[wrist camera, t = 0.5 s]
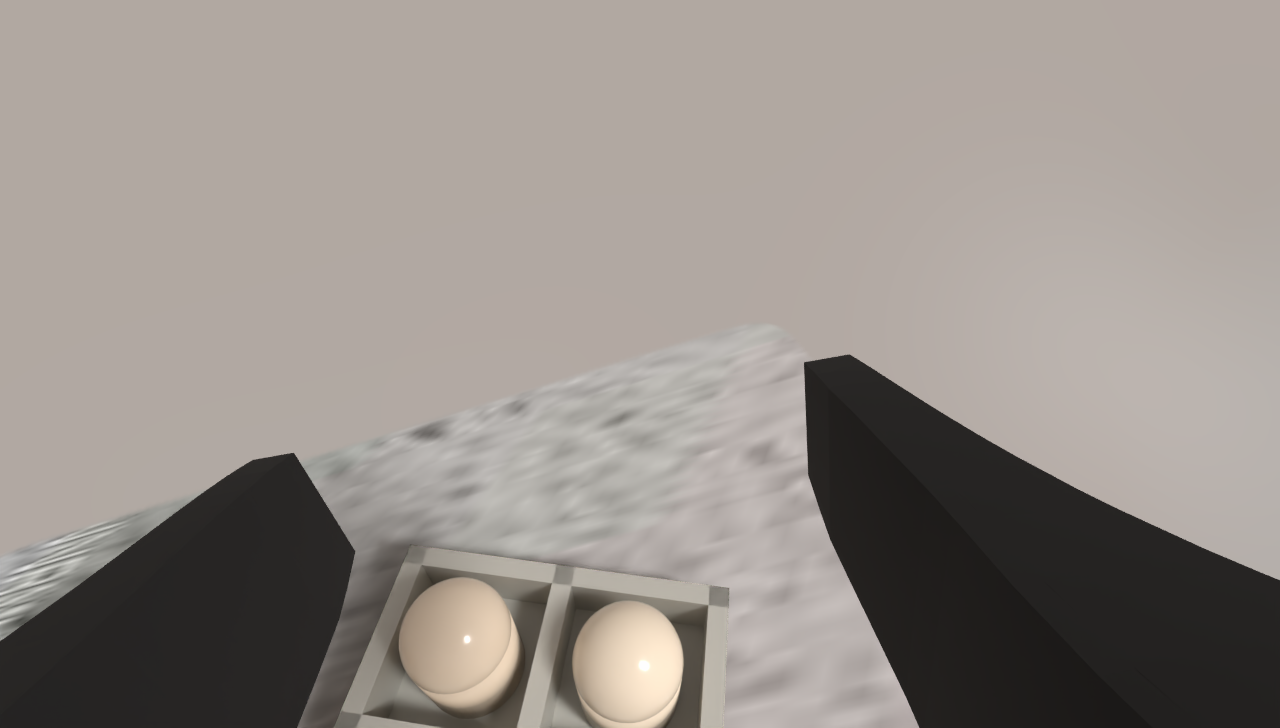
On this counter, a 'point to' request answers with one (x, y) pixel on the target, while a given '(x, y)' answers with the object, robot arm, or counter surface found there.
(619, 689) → the pale egg
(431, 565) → the carton
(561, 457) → the counter surface
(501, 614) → the pale egg
